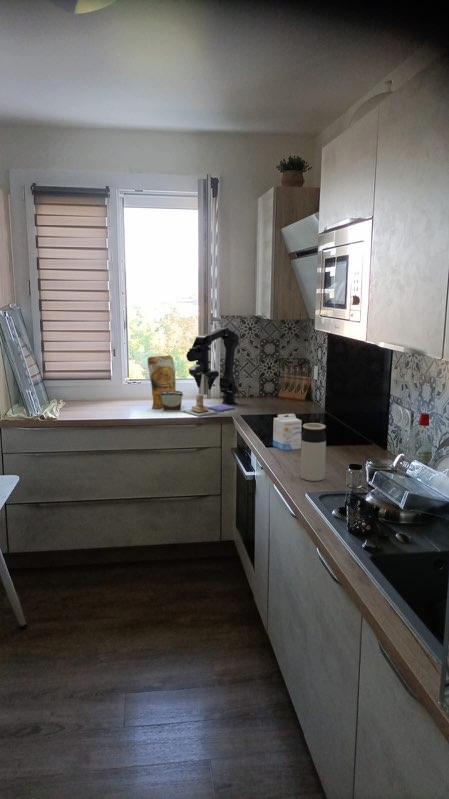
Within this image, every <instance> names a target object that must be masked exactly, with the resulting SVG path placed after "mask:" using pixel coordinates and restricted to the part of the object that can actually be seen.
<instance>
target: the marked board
mask: <svg viewBox="0 0 449 799" xmlns="http://www.w3.org/2000/svg"><path fill="white" fill-rule="evenodd" d="M181 412H182V413H184V414H189V415H192V416H195V417H205V416H210V415H211V416H212V415H217V414H219V412H217V411H213V410H208V412H203V413H196V412H192V408H191V409H186V410H181Z"/></svg>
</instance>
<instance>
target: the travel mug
mask: <svg viewBox="0 0 449 799" xmlns="http://www.w3.org/2000/svg"><path fill="white" fill-rule="evenodd" d="M326 428H327V427H326V424H323V423H319V422H317V423H316V422H309V423H304V424H303V425H302V429H303V431H302V432H301V448H300V449H301V451H300V452H301V455H300V456H301V457H300V477H301V479H303V480H306V481H309V482H318V481H322V480H324V479H325V478H326V456H327V455H326V454H327V452H326V448H327V447H326V446H327V435H326V432H325V429H326Z"/></svg>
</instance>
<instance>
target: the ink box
mask: <svg viewBox="0 0 449 799" xmlns="http://www.w3.org/2000/svg"><path fill="white" fill-rule="evenodd" d="M302 424H303V423H302V420H301V419H299V418H297V417H296V414H295V413H284V414H282V413H281V414H277V417H273V428H272V429H273V430H272V432H273V433H272V446H273V447H274V448H277V449H278V450H281V451H291V450H298V449H299V450H300V449H301V446H302Z"/></svg>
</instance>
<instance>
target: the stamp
mask: <svg viewBox="0 0 449 799" xmlns="http://www.w3.org/2000/svg"><path fill="white" fill-rule="evenodd" d="M195 400H196V403H195V404H196V405H192V406H191V409H192V412H196V413H203V412H208V407H209V406H207V405H204V395H203V394H196V397H195Z"/></svg>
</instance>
